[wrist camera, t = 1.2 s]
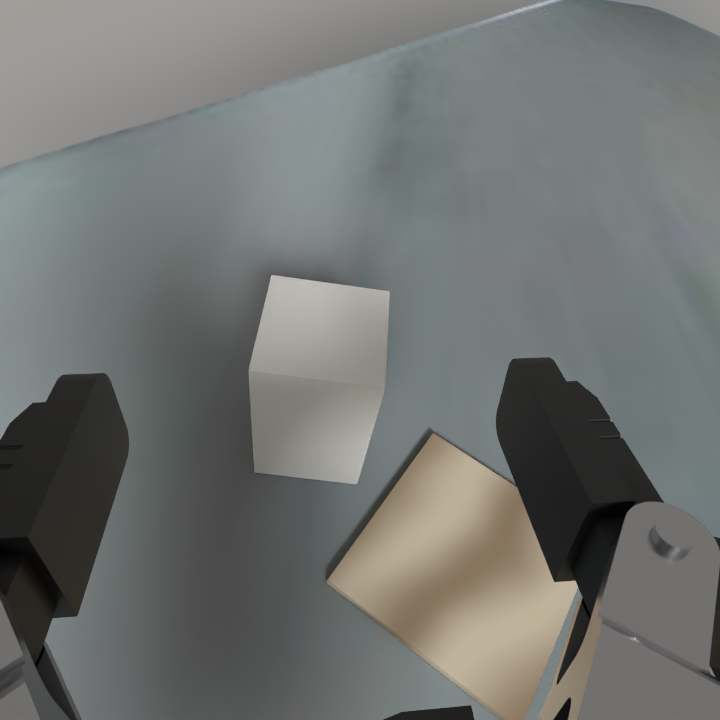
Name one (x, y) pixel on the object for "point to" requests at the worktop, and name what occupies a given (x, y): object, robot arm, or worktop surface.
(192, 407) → the worktop surface
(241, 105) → the worktop surface
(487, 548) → the cork mat
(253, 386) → the white rectangular block
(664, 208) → the worktop surface
